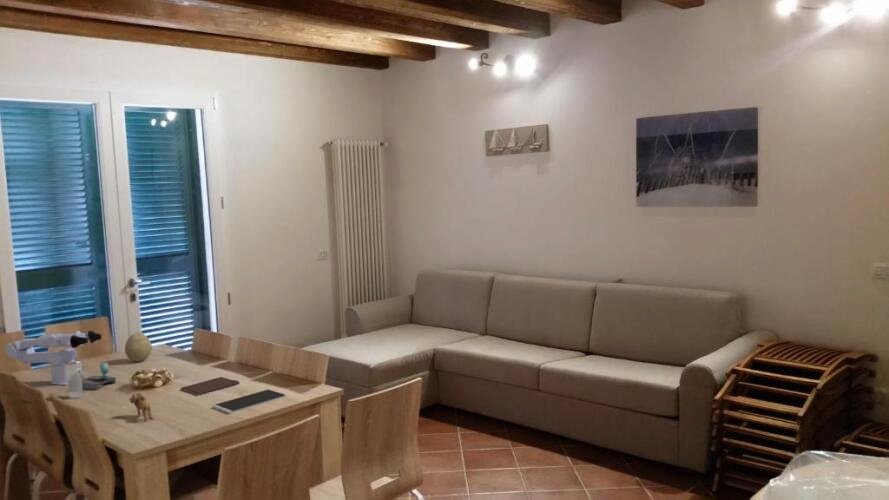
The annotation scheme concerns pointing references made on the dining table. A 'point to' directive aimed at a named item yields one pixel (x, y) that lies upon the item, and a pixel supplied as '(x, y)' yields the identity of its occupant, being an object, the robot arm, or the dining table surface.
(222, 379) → the notebook
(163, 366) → the dining table surface
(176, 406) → the dining table surface
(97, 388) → the keyhole plate
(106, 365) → the peg
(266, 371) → the dining table surface
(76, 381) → the beer glass
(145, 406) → the lion figurine
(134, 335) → the fossilized egg
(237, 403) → the smartphone
